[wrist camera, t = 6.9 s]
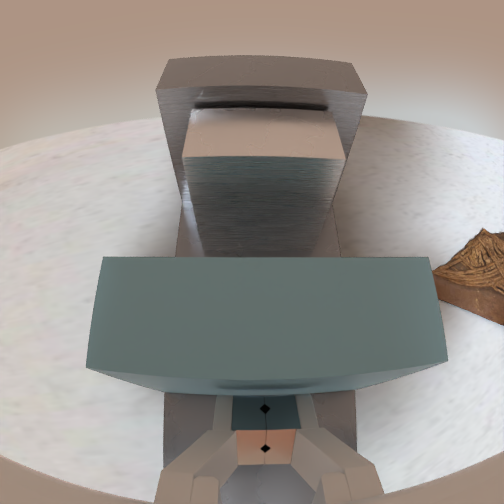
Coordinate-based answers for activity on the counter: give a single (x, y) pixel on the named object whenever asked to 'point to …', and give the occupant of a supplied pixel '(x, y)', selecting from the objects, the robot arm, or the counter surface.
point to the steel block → (261, 176)
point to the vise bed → (189, 245)
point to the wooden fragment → (475, 277)
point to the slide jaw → (264, 323)
